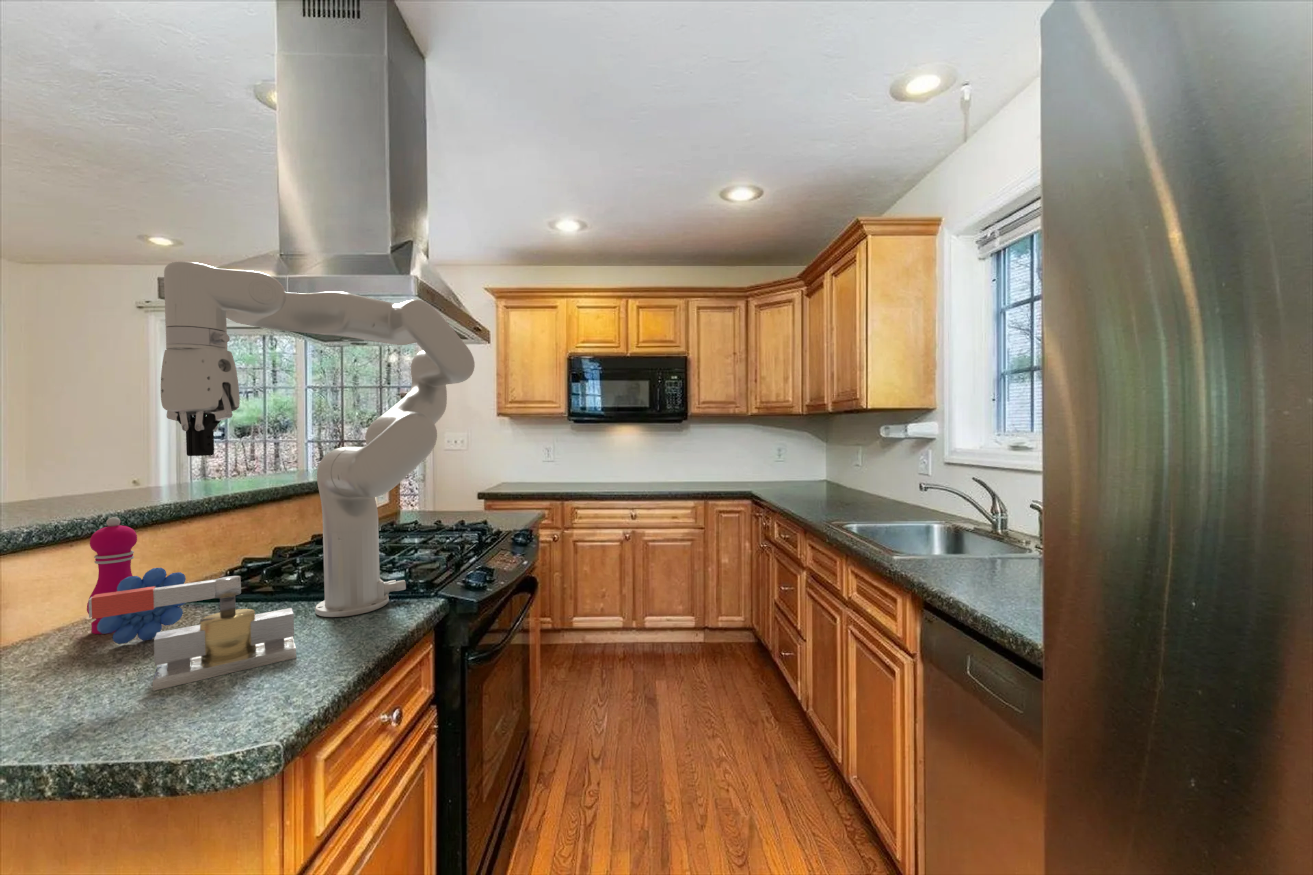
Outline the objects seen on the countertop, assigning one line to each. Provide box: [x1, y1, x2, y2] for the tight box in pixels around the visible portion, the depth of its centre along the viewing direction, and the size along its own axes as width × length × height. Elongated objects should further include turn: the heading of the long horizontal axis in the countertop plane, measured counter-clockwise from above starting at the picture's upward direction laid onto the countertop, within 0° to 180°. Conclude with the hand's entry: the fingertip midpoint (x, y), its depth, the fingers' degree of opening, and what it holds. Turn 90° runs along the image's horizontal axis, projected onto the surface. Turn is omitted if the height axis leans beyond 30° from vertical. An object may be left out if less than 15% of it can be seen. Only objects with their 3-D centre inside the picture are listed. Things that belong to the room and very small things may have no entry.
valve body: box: [152, 595, 297, 692], centre depth 80 cm, size 16×9×10 cm, turn 128°
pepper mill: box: [86, 516, 138, 635], centre depth 96 cm, size 7×7×20 cm
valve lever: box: [88, 575, 242, 620], centre depth 76 cm, size 16×3×3 cm, turn 127°
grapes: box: [97, 567, 187, 645], centre depth 91 cm, size 12×7×12 cm, turn 136°
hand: (200, 455), depth 87 cm, fingers closed
